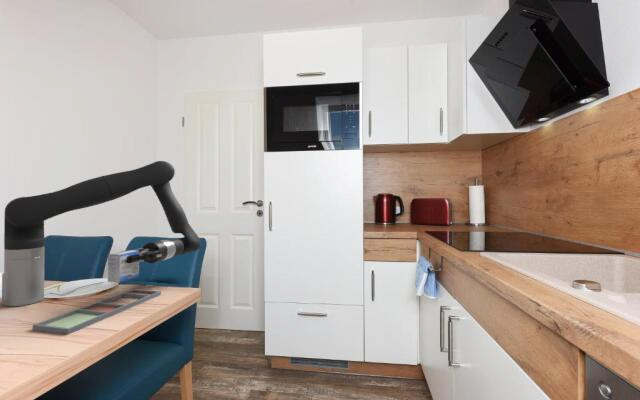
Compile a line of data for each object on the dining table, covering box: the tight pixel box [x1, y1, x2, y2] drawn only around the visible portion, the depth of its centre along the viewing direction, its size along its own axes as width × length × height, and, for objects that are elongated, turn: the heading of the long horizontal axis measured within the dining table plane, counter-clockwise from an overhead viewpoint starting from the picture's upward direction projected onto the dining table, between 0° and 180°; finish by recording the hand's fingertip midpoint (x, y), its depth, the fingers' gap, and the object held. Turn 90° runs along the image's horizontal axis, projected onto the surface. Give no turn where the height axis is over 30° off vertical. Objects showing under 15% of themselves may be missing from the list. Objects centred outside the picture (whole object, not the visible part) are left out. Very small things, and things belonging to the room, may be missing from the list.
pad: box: [46, 313, 100, 328], centre depth 82 cm, size 10×11×1 cm
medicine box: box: [107, 249, 140, 284], centre depth 98 cm, size 8×4×9 cm, turn 168°
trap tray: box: [32, 288, 162, 335], centre depth 92 cm, size 11×32×1 cm, turn 169°
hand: (121, 259), depth 97 cm, fingers closed on medicine box, 4 cm apart
